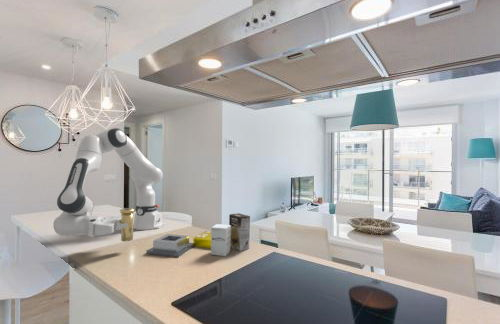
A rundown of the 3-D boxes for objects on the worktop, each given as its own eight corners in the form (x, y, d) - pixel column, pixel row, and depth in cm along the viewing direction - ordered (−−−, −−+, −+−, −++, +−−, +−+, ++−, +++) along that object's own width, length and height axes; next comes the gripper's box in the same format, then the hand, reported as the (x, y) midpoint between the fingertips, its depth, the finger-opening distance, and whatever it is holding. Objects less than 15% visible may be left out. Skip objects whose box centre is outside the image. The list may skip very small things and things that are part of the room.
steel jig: (165, 243, 131) (165, 232, 131) (194, 246, 128) (194, 235, 128) (146, 253, 116) (146, 241, 116) (178, 257, 112) (178, 244, 112)
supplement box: (210, 255, 116) (210, 227, 116) (216, 249, 123) (216, 223, 123) (225, 256, 114) (226, 228, 114) (230, 251, 121) (231, 224, 121)
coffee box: (228, 246, 128) (228, 214, 128) (238, 244, 132) (238, 212, 132) (239, 251, 121) (240, 217, 121) (250, 248, 126) (250, 215, 126)
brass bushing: (126, 237, 122) (126, 207, 122) (137, 238, 121) (137, 208, 121) (116, 241, 116) (116, 210, 116) (128, 242, 115) (128, 211, 115)
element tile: (218, 250, 124) (219, 240, 124) (191, 246, 128) (191, 237, 128) (230, 241, 138) (230, 232, 138) (205, 238, 143) (205, 230, 143)
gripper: (104, 225, 126) (134, 224, 129) (87, 238, 106) (123, 236, 109) (104, 212, 126) (134, 211, 129) (87, 223, 106) (123, 222, 109)
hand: (129, 223), depth 119 cm, fingers closed on brass bushing, 5 cm apart
